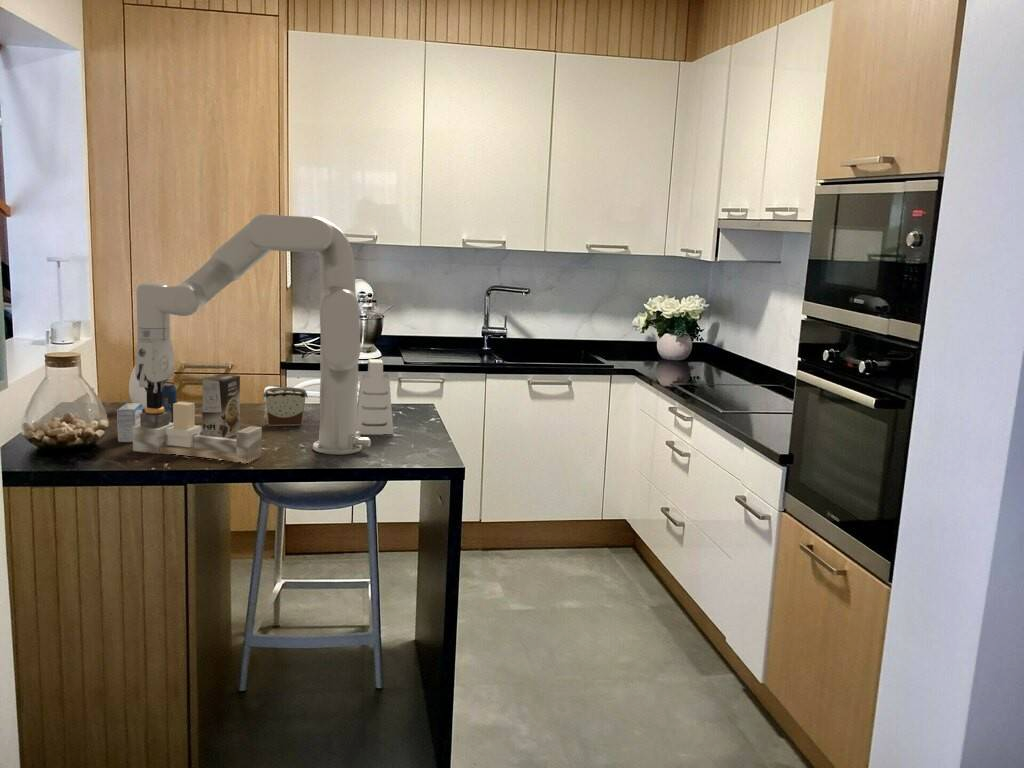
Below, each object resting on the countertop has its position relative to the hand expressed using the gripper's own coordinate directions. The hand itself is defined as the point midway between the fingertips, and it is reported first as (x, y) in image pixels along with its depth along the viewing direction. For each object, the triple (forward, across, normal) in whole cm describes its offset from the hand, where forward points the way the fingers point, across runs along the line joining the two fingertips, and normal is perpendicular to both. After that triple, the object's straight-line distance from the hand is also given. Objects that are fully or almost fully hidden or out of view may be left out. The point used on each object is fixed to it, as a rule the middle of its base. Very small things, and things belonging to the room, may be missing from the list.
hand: (154, 407), depth 226 cm
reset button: (+4, 0, 0) cm, 4 cm away
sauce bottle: (+11, +37, +28) cm, 47 cm away
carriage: (+8, 0, -8) cm, 12 cm away
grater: (+11, +42, -42) cm, 60 cm away
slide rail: (+10, 0, -12) cm, 16 cm away
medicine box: (+11, +6, +11) cm, 16 cm away
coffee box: (+11, +18, -8) cm, 22 cm away
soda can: (+11, +21, +11) cm, 26 cm away
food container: (+11, +39, -16) cm, 44 cm away
